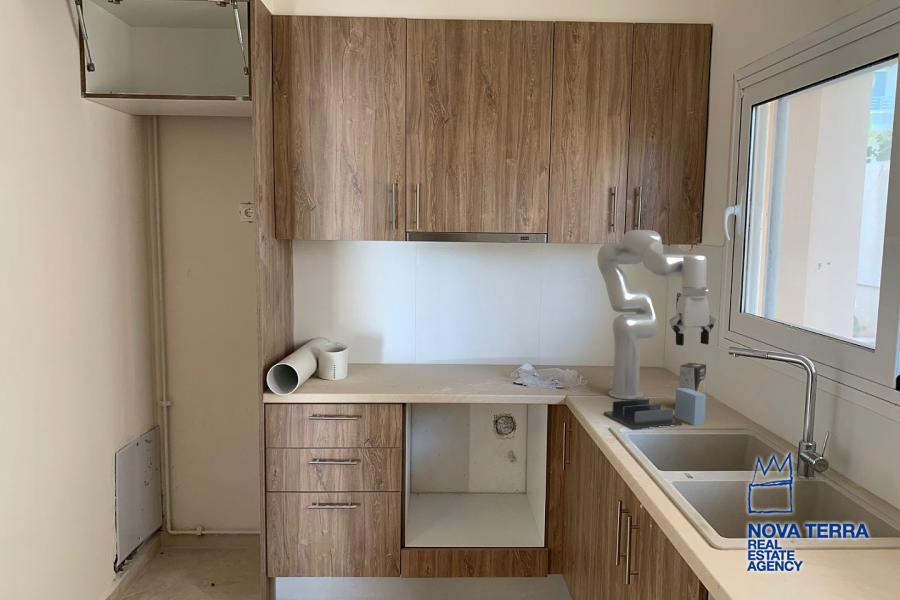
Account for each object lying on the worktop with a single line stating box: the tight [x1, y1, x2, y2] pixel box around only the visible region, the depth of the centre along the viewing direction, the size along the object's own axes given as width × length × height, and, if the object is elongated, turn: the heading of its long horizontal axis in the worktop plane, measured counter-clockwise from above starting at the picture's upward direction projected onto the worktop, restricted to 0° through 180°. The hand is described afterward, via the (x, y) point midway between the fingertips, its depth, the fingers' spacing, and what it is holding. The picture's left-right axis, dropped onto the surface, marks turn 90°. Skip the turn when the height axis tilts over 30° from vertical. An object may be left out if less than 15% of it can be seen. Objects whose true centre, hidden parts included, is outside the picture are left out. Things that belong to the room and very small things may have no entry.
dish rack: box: [603, 398, 683, 431], centre depth 211 cm, size 18×18×5 cm
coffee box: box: [678, 362, 707, 395], centre depth 225 cm, size 9×6×16 cm
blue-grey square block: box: [674, 387, 707, 426], centre depth 211 cm, size 10×4×10 cm, turn 17°
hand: (692, 344), depth 209 cm, fingers open, 9 cm apart
